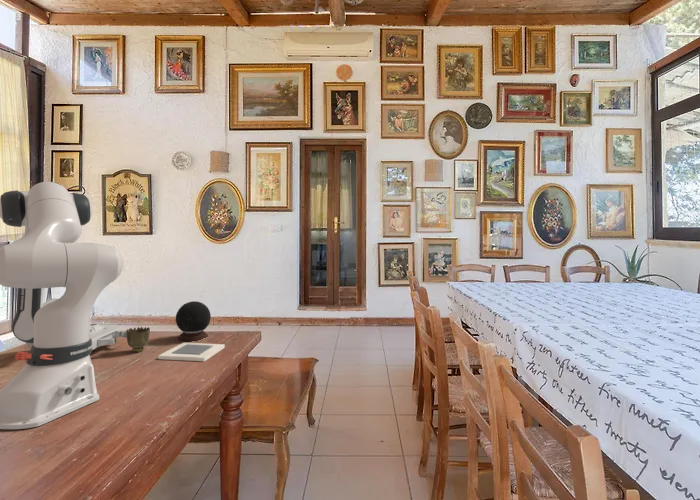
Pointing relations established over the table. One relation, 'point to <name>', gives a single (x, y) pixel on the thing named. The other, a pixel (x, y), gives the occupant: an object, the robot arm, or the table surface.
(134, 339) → the cup
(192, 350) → the tile plinth
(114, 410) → the table surface
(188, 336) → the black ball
